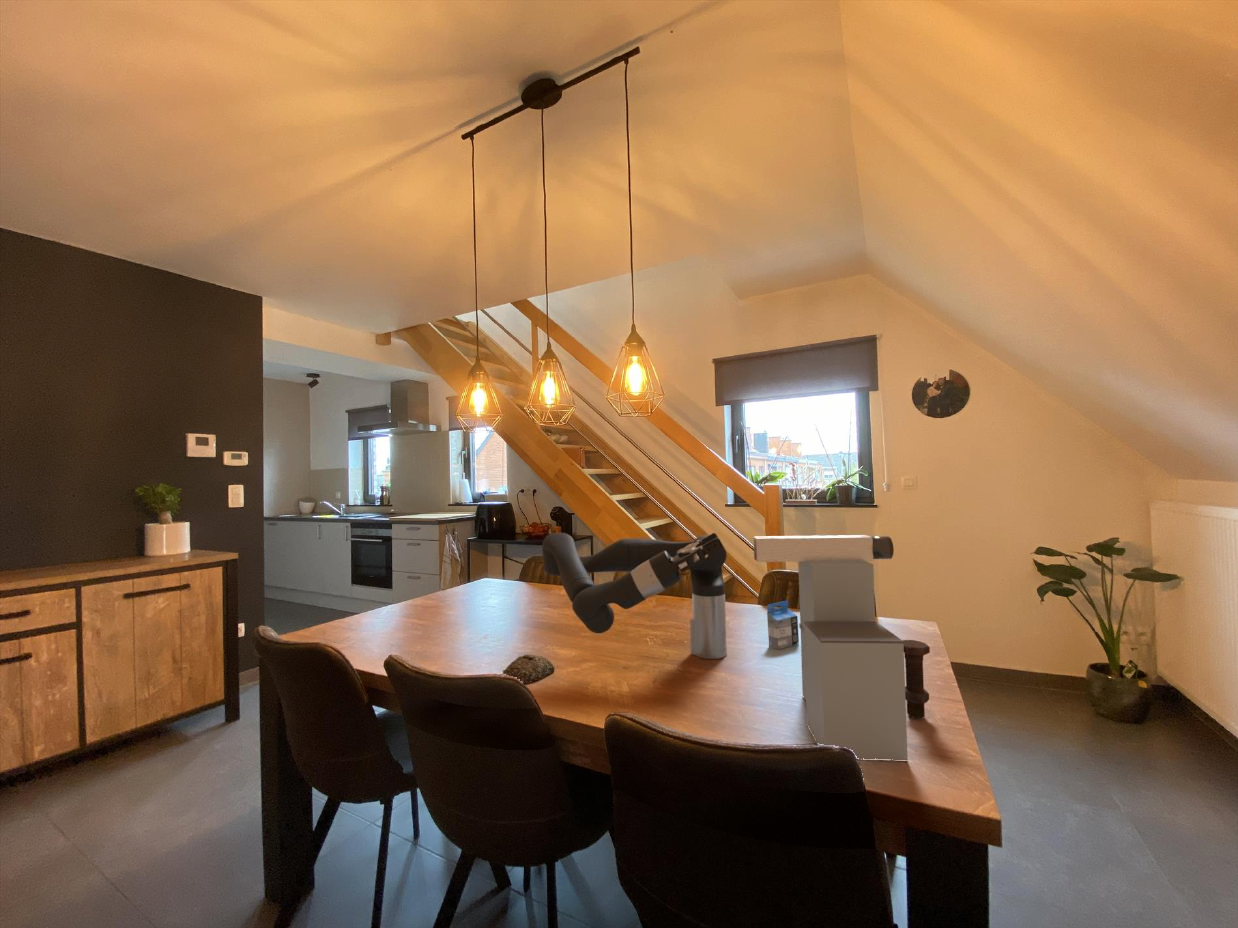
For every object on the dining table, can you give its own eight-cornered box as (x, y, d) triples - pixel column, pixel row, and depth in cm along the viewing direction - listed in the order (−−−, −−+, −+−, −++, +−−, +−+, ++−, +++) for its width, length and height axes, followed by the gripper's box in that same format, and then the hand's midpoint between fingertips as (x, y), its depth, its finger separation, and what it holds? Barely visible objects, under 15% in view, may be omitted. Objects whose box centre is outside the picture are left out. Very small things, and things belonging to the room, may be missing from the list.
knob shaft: (757, 562, 110) (756, 538, 110) (753, 558, 115) (753, 536, 115) (894, 561, 107) (893, 537, 107) (884, 557, 112) (883, 534, 112)
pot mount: (825, 759, 91) (819, 578, 92) (791, 695, 117) (786, 555, 118) (911, 761, 90) (905, 578, 90) (858, 696, 116) (853, 554, 116)
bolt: (895, 710, 109) (893, 639, 109) (918, 709, 109) (915, 638, 109) (913, 723, 103) (910, 648, 103) (937, 722, 103) (934, 647, 104)
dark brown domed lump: (560, 673, 135) (560, 654, 135) (522, 688, 126) (521, 668, 126) (531, 662, 143) (530, 644, 143) (492, 675, 134) (492, 656, 134)
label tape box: (778, 650, 147) (777, 607, 148) (767, 646, 151) (766, 604, 151) (799, 644, 152) (798, 602, 152) (788, 640, 155) (787, 599, 155)
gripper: (645, 566, 108) (712, 527, 107) (649, 555, 122) (708, 521, 121) (664, 597, 107) (731, 558, 106) (665, 582, 122) (724, 548, 120)
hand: (718, 538), depth 113 cm, fingers open, 8 cm apart
